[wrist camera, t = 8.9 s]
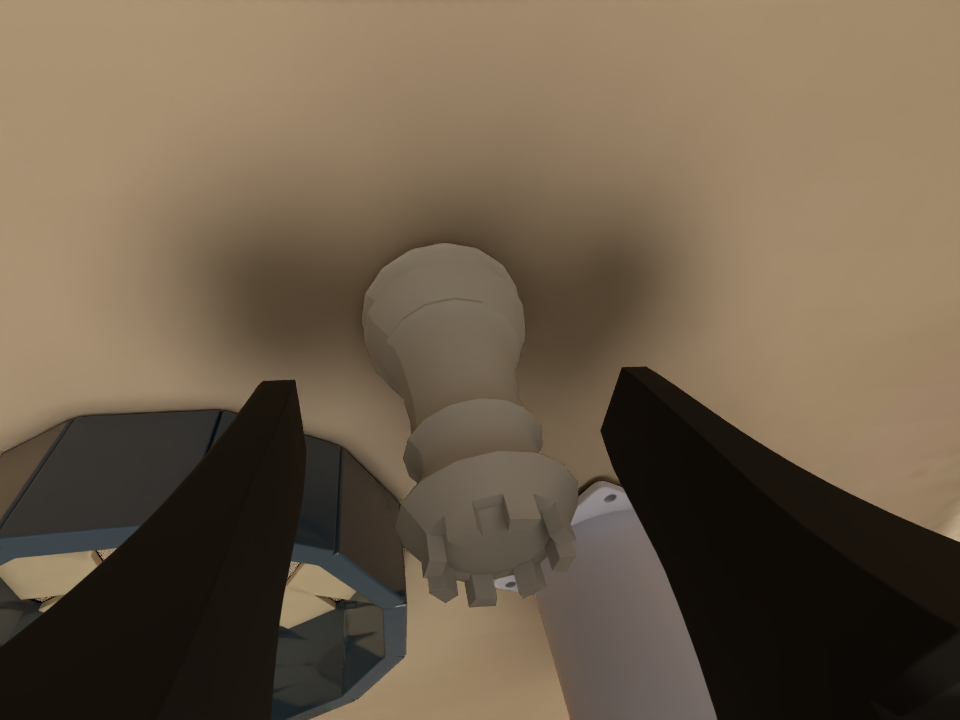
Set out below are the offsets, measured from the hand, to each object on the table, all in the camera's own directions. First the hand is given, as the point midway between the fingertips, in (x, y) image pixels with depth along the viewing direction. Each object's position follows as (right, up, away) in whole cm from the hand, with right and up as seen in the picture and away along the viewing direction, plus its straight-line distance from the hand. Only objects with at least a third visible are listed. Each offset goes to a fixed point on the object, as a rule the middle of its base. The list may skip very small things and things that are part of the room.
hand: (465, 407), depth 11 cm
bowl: (-10, -6, +8) cm, 14 cm away
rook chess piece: (-1, +3, +3) cm, 4 cm away
